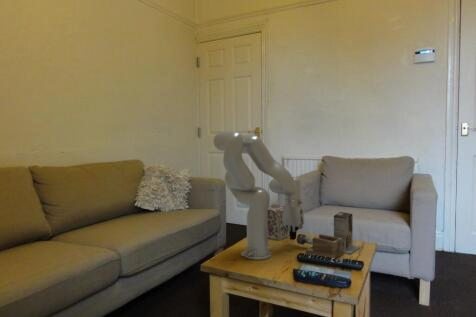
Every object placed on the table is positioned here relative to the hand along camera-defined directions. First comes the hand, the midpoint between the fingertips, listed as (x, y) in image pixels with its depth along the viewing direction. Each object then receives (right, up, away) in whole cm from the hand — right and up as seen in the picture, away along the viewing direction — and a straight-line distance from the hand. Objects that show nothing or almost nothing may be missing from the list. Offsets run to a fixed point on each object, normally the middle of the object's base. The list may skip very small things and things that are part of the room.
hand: (292, 239), depth 172 cm
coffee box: (+24, -3, -4) cm, 24 cm away
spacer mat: (+24, -4, -4) cm, 24 cm away
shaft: (+8, -2, -7) cm, 11 cm away
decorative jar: (-7, -3, +17) cm, 19 cm away
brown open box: (+14, -4, -11) cm, 18 cm away
